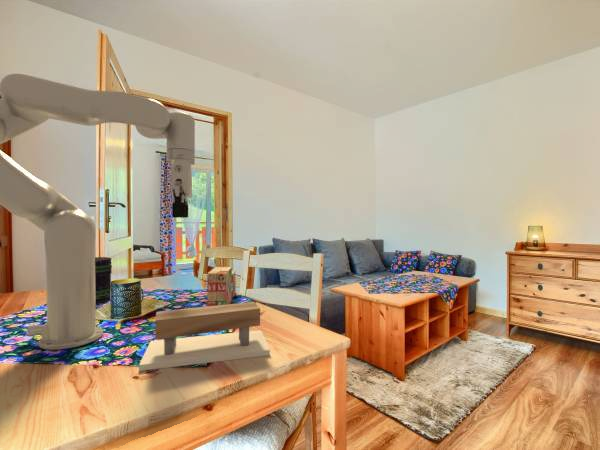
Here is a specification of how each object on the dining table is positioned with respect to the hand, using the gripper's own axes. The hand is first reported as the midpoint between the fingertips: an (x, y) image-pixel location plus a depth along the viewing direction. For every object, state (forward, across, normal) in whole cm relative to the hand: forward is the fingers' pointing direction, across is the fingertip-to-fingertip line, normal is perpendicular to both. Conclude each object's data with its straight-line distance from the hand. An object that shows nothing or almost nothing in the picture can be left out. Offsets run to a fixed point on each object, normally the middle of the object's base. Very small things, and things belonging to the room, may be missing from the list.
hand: (180, 217), depth 88 cm
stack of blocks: (+31, +19, -12) cm, 38 cm away
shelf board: (+25, -22, -9) cm, 34 cm away
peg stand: (+30, -22, -8) cm, 38 cm away
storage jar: (+30, +30, +32) cm, 53 cm away
